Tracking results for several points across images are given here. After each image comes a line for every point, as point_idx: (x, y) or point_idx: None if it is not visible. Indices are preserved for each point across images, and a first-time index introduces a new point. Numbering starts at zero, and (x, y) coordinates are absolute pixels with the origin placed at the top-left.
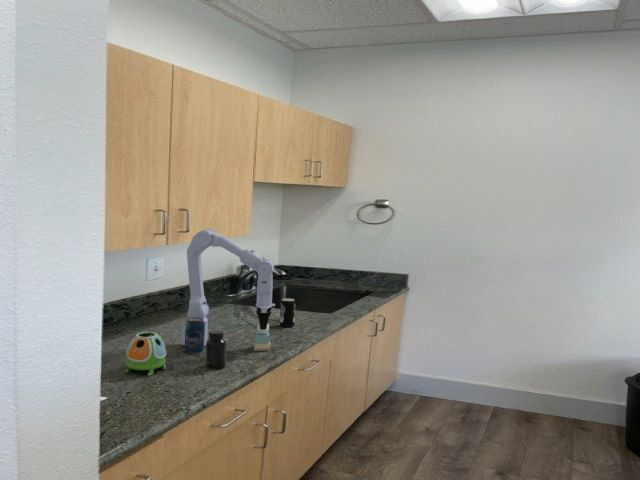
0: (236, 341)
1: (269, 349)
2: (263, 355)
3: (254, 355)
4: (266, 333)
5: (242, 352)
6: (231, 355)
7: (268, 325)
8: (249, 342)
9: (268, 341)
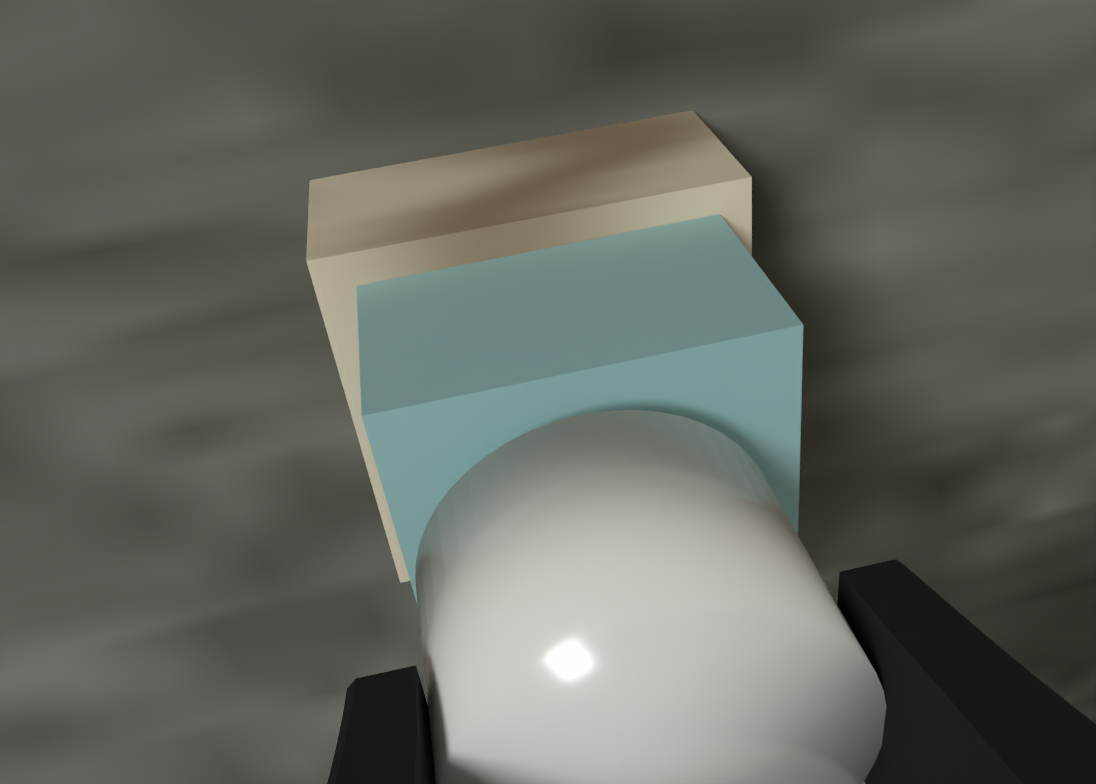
0: (174, 780)
1: (707, 135)
2: (1039, 180)
3: (1024, 335)
4: (741, 449)
5: (838, 540)
6: (997, 617)
7: (764, 616)
8: (139, 614)
9: (738, 255)
